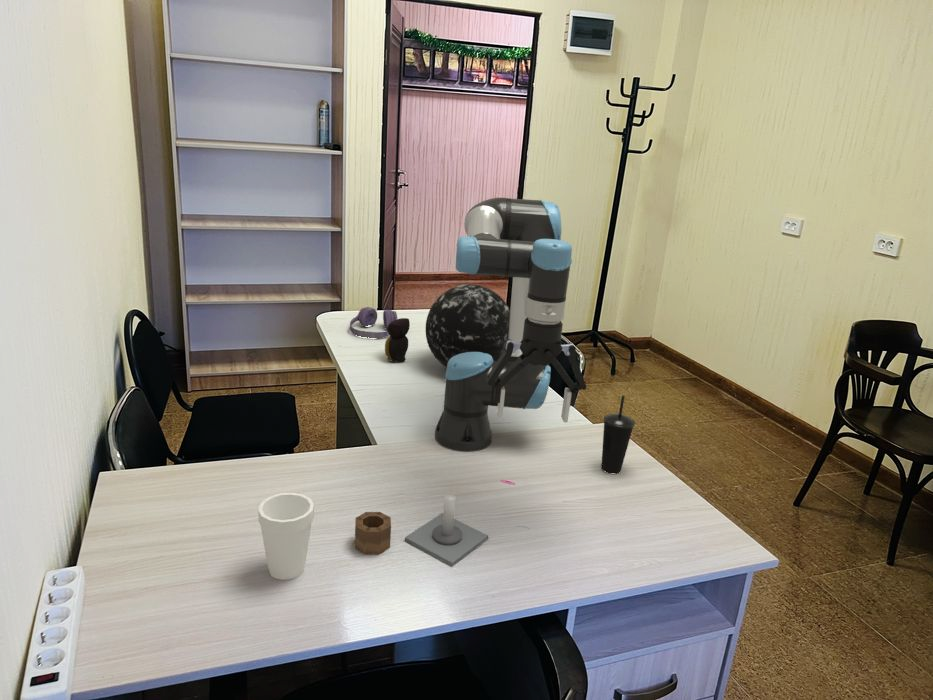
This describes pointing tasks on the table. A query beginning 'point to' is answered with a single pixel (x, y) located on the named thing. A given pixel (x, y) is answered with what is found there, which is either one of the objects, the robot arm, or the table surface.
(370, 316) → the headphones
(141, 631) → the table surface
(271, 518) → the foam cup
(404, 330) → the figurine
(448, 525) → the grey peg stand
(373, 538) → the brown faceted ring
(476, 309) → the globe
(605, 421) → the drinking cup
